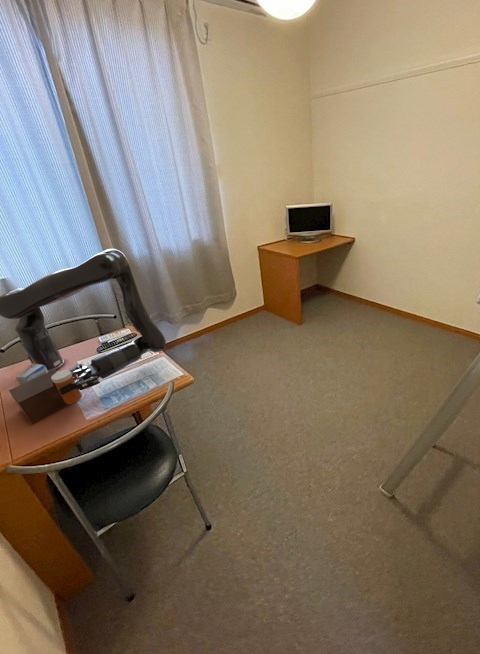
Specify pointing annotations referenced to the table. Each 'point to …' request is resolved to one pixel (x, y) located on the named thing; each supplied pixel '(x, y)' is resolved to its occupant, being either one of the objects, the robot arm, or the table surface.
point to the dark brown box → (38, 397)
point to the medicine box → (32, 373)
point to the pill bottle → (62, 380)
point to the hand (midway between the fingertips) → (57, 388)
